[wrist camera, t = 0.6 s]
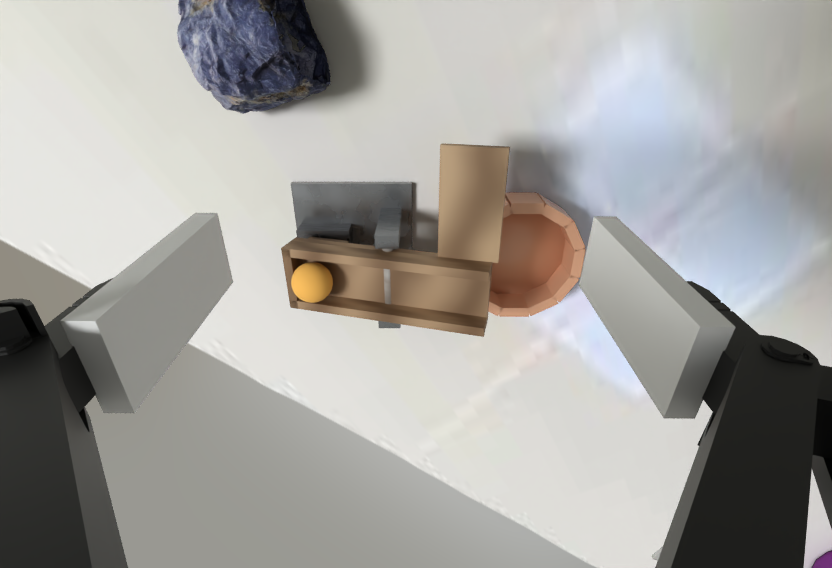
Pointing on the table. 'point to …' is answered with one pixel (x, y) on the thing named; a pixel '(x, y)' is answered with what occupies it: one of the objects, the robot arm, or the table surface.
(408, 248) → the pivot base
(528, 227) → the terracotta bowl
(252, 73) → the rock
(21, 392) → the robot arm
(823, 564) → the mug
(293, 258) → the lever
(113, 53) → the table surface
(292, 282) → the ball
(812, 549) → the table surface
